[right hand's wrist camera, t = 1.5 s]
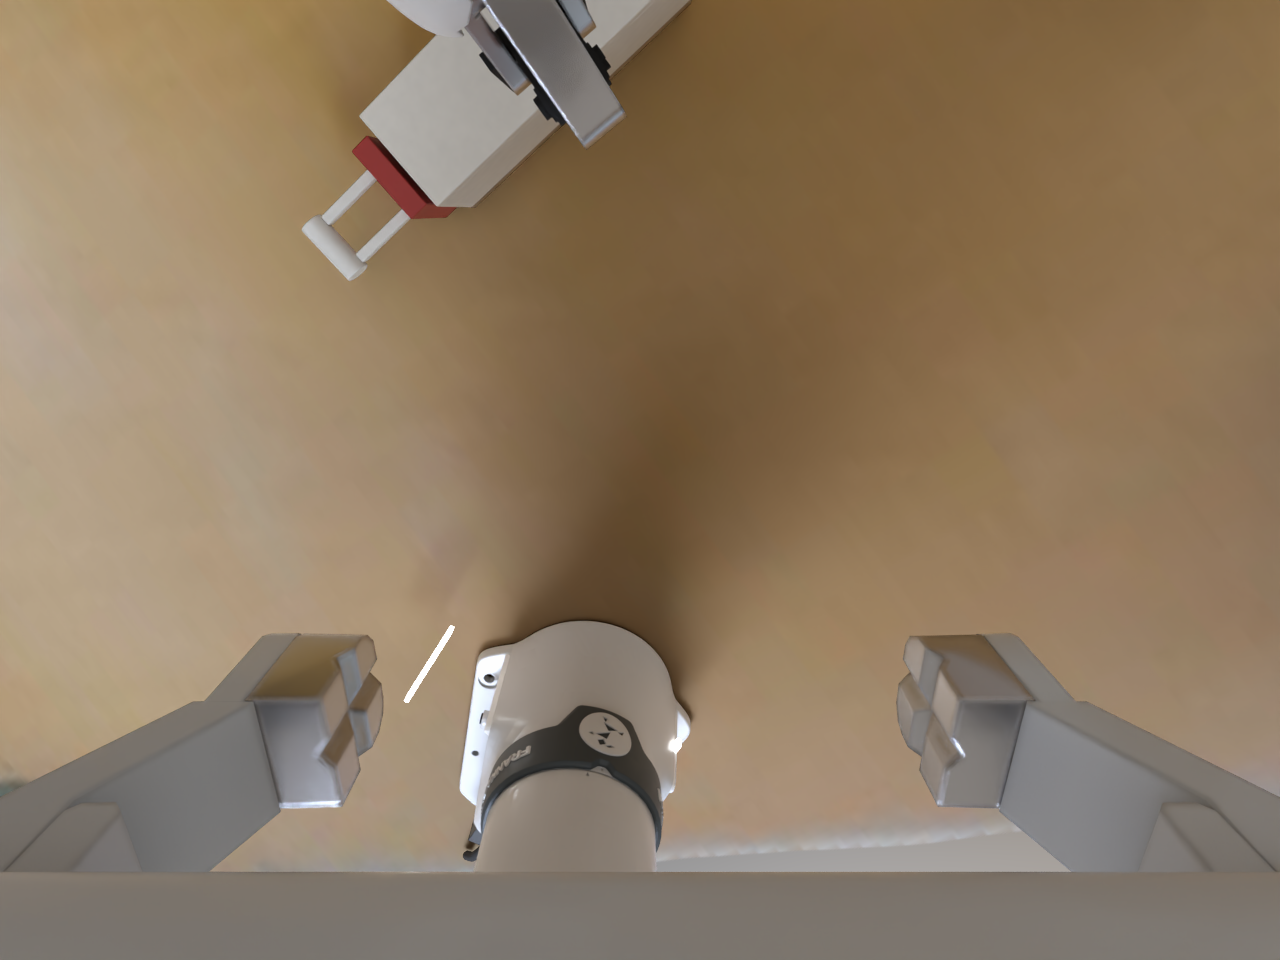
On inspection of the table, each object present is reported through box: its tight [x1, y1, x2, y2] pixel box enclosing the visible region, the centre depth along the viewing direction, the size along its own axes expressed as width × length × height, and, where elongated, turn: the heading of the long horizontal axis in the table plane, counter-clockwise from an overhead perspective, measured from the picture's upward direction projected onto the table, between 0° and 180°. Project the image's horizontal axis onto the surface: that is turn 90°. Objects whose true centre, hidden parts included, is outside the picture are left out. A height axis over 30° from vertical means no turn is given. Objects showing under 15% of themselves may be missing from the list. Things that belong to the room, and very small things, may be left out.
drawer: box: [302, 136, 457, 281], centre depth 39 cm, size 22×4×7 cm, turn 129°
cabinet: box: [359, 0, 692, 208], centre depth 37 cm, size 18×6×9 cm, turn 129°
